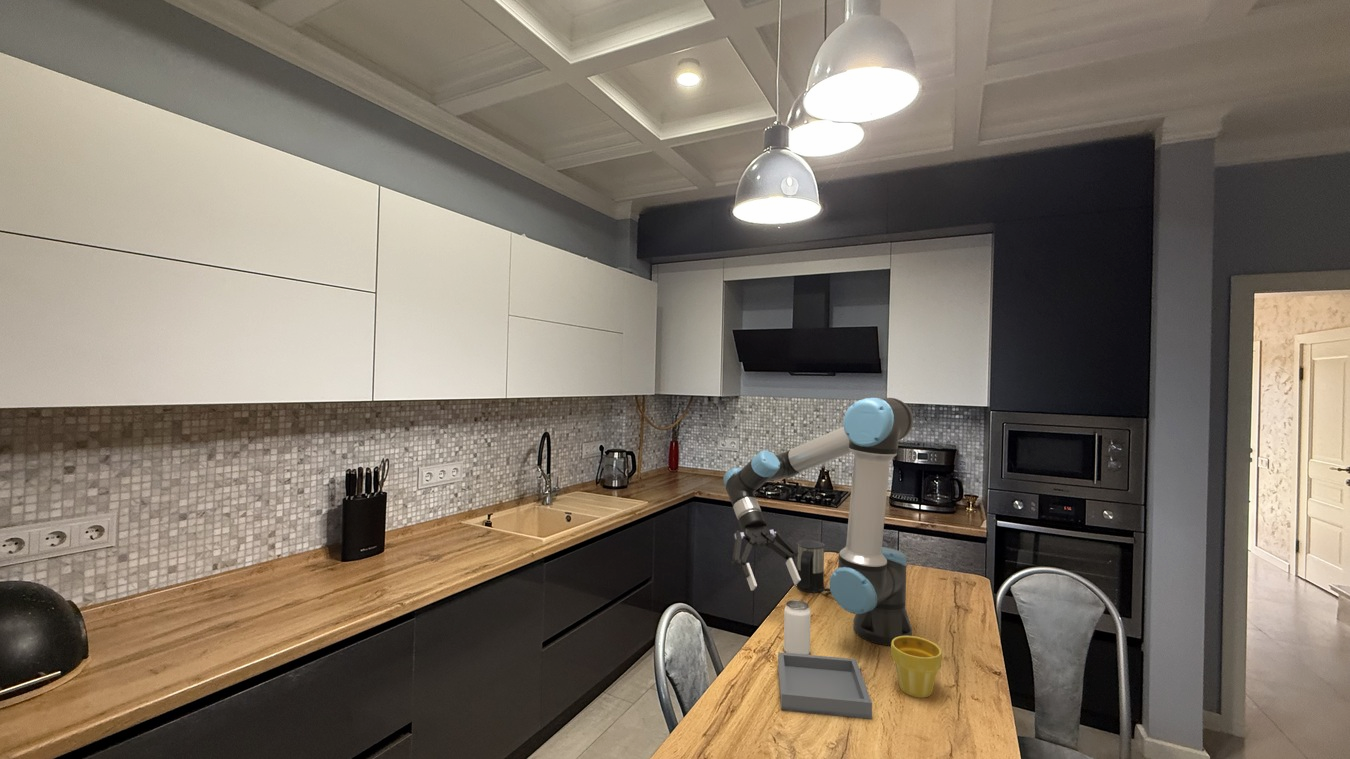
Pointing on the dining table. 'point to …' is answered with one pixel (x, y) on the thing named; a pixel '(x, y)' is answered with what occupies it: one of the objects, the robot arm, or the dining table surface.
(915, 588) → the dining table surface
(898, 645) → the plant pot
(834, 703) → the tray
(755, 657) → the dining table surface
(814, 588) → the milk frother
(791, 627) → the can
